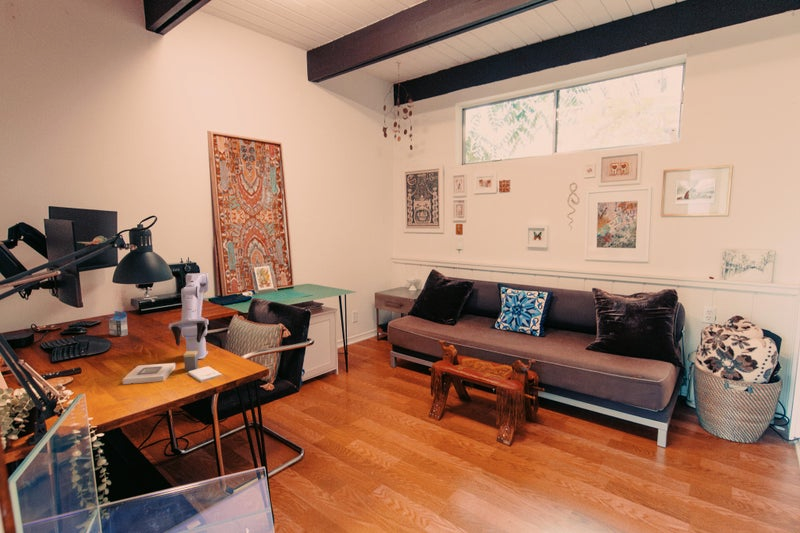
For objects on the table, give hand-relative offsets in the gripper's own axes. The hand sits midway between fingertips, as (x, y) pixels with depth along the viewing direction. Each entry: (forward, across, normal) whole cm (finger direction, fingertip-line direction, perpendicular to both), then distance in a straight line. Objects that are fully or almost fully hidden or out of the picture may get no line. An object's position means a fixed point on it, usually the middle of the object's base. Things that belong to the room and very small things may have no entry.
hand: (188, 343), depth 163 cm
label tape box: (-34, -50, +56) cm, 83 cm away
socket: (+9, -15, +7) cm, 19 cm away
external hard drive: (+13, +6, +5) cm, 15 cm away
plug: (+7, -1, +10) cm, 13 cm away
